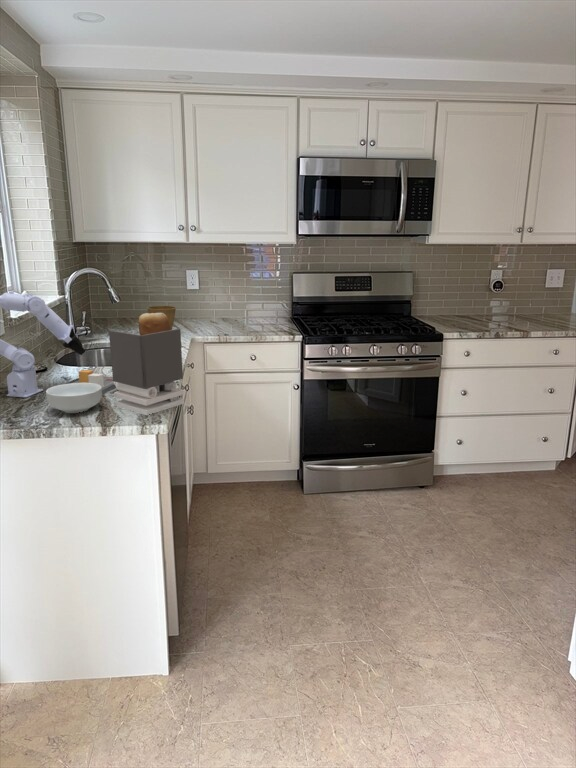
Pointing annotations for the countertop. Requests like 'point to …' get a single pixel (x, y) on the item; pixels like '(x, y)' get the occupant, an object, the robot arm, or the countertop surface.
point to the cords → (78, 379)
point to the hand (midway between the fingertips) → (81, 349)
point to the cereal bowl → (74, 396)
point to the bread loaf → (153, 323)
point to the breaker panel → (101, 382)
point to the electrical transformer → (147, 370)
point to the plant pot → (167, 310)
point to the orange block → (84, 375)
